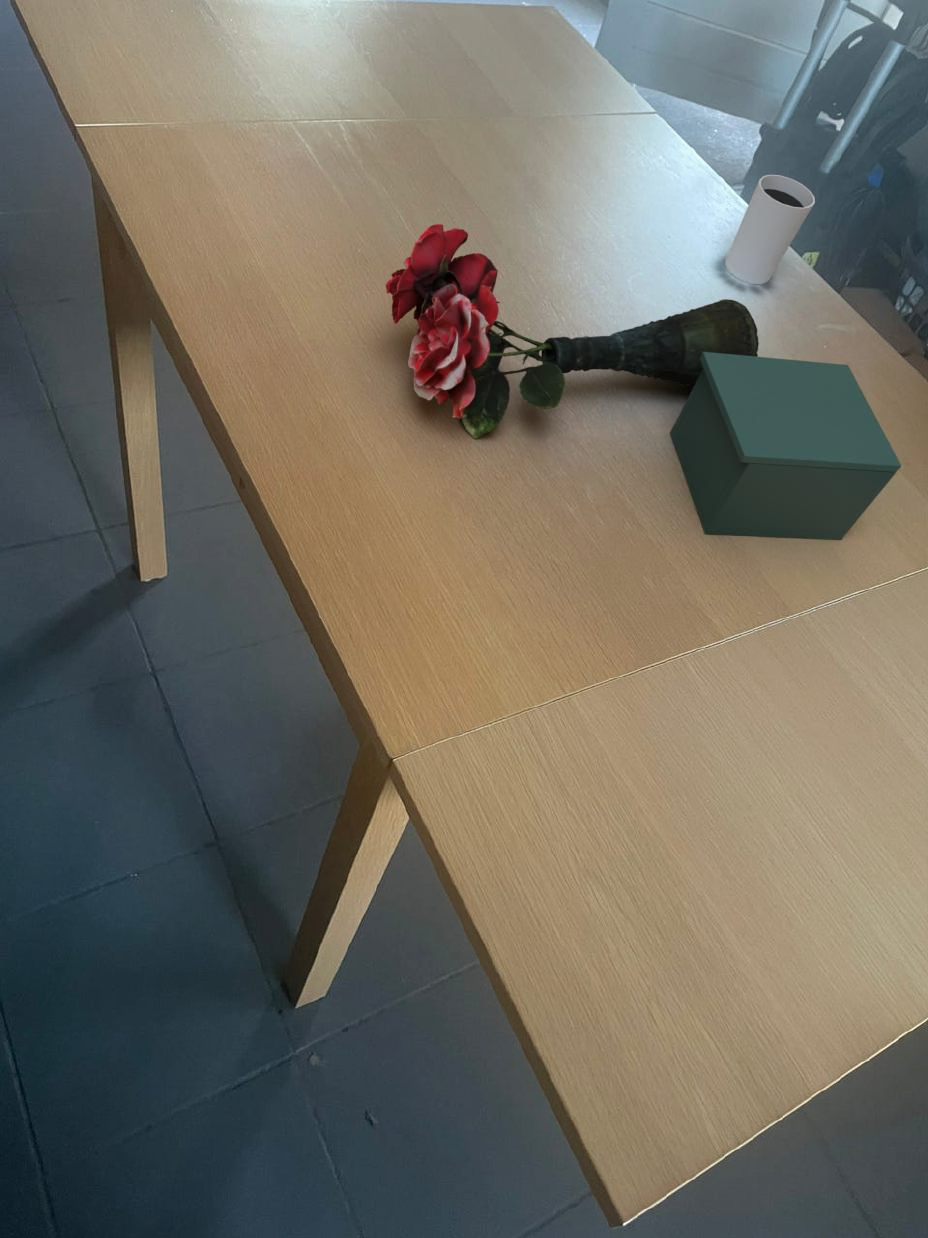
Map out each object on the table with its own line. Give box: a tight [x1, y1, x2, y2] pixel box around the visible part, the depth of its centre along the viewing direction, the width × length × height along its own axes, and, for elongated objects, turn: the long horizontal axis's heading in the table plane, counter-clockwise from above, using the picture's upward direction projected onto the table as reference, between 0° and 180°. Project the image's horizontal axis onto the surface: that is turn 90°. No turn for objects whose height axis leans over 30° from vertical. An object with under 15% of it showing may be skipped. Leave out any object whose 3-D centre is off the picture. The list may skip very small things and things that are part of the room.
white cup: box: [724, 174, 816, 285], centre depth 107 cm, size 7×7×10 cm
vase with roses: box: [385, 223, 760, 439], centre depth 87 cm, size 16×18×35 cm
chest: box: [669, 368, 897, 541], centre depth 84 cm, size 14×13×9 cm
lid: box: [700, 352, 902, 473], centre depth 80 cm, size 15×13×1 cm
